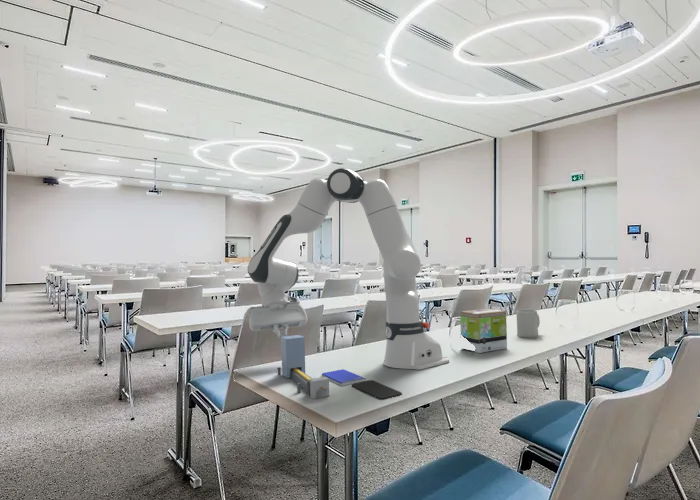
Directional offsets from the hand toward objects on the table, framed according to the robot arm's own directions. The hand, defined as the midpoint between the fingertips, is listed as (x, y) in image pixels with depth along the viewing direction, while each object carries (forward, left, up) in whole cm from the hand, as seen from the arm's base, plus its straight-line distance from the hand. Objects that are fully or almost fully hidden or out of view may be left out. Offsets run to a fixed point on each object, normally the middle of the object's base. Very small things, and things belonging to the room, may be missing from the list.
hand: (283, 337), depth 140 cm
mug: (-111, +4, -11) cm, 112 cm away
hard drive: (-12, +22, -11) cm, 28 cm away
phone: (-15, +37, -11) cm, 42 cm away
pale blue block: (0, +11, -10) cm, 15 cm away
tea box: (-75, +14, -11) cm, 77 cm away
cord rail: (0, +20, -10) cm, 23 cm away
